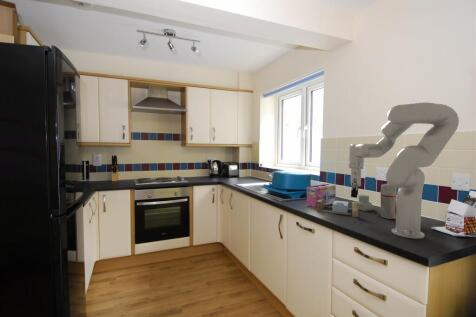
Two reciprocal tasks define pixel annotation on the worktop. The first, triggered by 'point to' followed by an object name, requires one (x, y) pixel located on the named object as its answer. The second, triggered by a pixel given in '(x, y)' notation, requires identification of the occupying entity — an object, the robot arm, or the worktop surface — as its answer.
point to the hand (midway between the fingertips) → (354, 195)
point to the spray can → (388, 201)
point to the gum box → (321, 194)
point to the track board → (334, 211)
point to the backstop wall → (320, 204)
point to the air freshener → (364, 203)
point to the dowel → (355, 209)
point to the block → (340, 206)
